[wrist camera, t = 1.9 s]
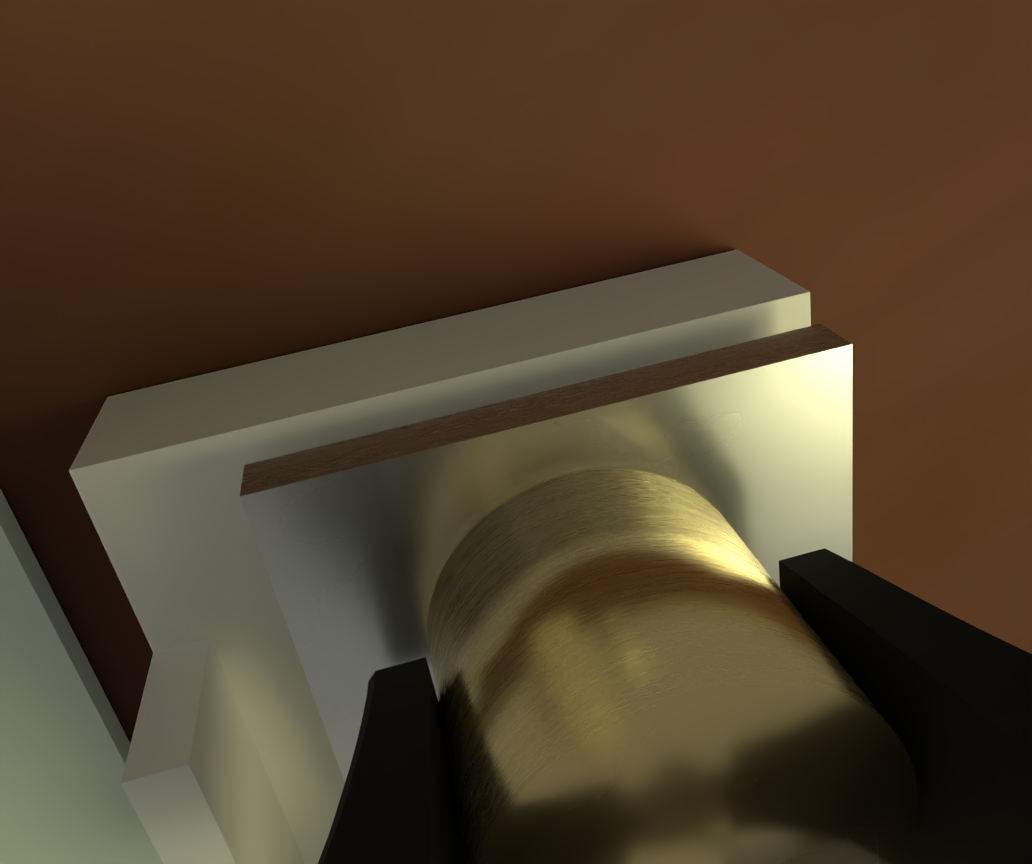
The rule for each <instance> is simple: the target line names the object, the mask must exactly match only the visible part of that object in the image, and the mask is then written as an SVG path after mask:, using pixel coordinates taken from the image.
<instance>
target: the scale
mask: <svg viewBox="0 0 1032 864" xmlns="http://www.w3.org/2000/svg"><path fill="white" fill-rule="evenodd" d="M808 326H811V315H810V292H809V291H808V290H806V289H804V288H802V287H801V286H799V285H797V284H796V283H794V282H792V281H790V280H789V279H787V278H785V277H784V276H782V275H780V274H778V273H777V272H775V271H773V270H772V269H770V268H768V267H766V266H765V265H763V264H761V263H760V262H758V261H756V260H754V259H753V258H751V257H749V256H747V255H746V254H744V253H742V252H741V251H739V250H733V251H728V252H724V253H720V254H715V255H711V256H707V257H703V258H698V259H694V260H690V261H686V262H681V263H677V264H673V265H668V266H664V267H660V268H656V269H651V270H647V271H643V272H639V273H634V274H630V275H626V276H621V277H617V278H613V279H609V280H604V281H600V282H596V283H592V284H587V285H583V286H579V287H574V288H570V289H566V290H562V291H557V292H553V293H549V294H545V295H540V296H536V297H532V298H527V299H523V300H519V301H515V302H510V303H506V304H502V305H498V306H493V307H489V308H485V309H480V310H476V311H472V312H468V313H463V314H459V315H455V316H451V317H446V318H442V319H438V320H433V321H429V322H425V323H421V324H416V325H412V326H408V327H404V328H399V329H395V330H391V331H386V332H382V333H378V334H374V335H369V336H365V337H361V338H357V339H352V340H348V341H344V342H340V343H335V344H331V345H327V346H322V347H318V348H314V349H310V350H305V351H301V352H297V353H293V354H288V355H284V356H280V357H275V358H271V359H267V360H263V361H258V362H254V363H250V364H246V365H241V366H237V367H233V368H228V369H224V370H220V371H216V372H211V373H207V374H203V375H199V376H194V377H190V378H186V379H181V380H177V381H173V382H169V383H164V384H160V385H156V386H152V387H147V388H143V389H139V390H134V391H130V392H126V393H122V394H117V395H113V396H109V397H107V399H106V401H105V403H104V404H103V406H102V408H101V410H100V412H99V414H98V416H97V418H96V420H95V422H94V424H93V425H92V427H91V429H90V431H89V433H88V435H87V437H86V439H85V441H84V443H83V444H82V446H81V448H80V450H79V452H78V454H77V456H76V458H75V460H74V462H73V464H72V465H71V467H70V469H69V472H70V475H71V477H72V479H73V481H74V483H75V485H76V488H77V490H78V492H79V494H80V496H81V498H82V500H83V503H84V505H85V507H86V509H87V511H88V513H89V516H90V518H91V520H92V522H93V524H94V526H95V528H96V531H97V533H98V535H99V537H100V539H101V541H102V544H103V546H104V548H105V550H106V552H107V554H108V557H109V559H110V561H111V563H112V565H113V567H114V569H115V572H116V574H117V576H118V578H119V580H120V582H121V585H122V587H123V589H124V591H125V593H126V595H127V597H128V600H129V602H130V604H131V606H132V608H133V610H134V613H135V615H136V617H137V619H138V621H139V623H140V625H141V628H142V630H143V632H144V634H145V636H146V638H147V641H148V643H149V645H150V647H151V649H152V651H153V655H152V659H151V663H150V667H149V671H148V675H147V679H146V683H145V687H144V691H143V695H142V700H141V704H140V708H139V712H138V716H137V720H136V724H135V728H134V732H133V736H132V740H131V744H130V748H129V752H128V756H127V760H126V764H125V768H124V772H123V776H122V780H121V785H122V787H123V789H124V791H125V793H126V794H127V796H128V798H129V800H130V802H131V804H132V806H133V808H134V809H135V811H136V813H137V815H138V817H139V819H140V821H141V823H142V825H143V826H144V828H145V830H146V832H147V834H148V836H149V838H150V840H151V841H152V843H153V845H154V847H155V849H156V851H157V853H158V855H159V856H160V858H161V860H162V862H163V864H318V862H319V859H320V857H321V854H322V851H323V849H324V846H325V843H326V841H327V838H328V835H329V832H330V829H331V826H332V823H333V820H334V817H335V814H336V811H337V807H338V804H339V801H340V798H341V794H342V791H343V788H344V785H345V781H344V779H343V776H342V773H341V770H340V768H339V765H338V762H337V760H336V757H335V754H334V751H333V749H332V746H331V743H330V741H329V738H328V735H327V732H326V730H325V727H324V724H323V722H322V719H321V716H320V713H319V711H318V708H317V705H316V703H315V700H314V697H313V694H312V692H311V689H310V686H309V684H308V681H307V678H306V675H305V673H304V670H303V667H302V665H301V662H300V659H299V656H298V654H297V651H296V648H295V646H294V643H293V640H292V637H291V635H290V632H289V629H288V627H287V624H286V621H285V618H284V616H283V613H282V610H281V608H280V605H279V602H278V599H277V597H276V594H275V591H274V589H273V586H272V583H271V580H270V578H269V575H268V572H267V570H266V567H265V564H264V561H263V559H262V556H261V553H260V551H259V548H258V545H257V542H256V540H255V537H254V534H253V532H252V529H251V526H250V523H249V521H248V518H247V515H246V513H245V510H244V507H243V504H242V502H241V499H240V491H241V484H242V477H243V471H244V465H246V464H250V463H254V462H258V461H262V460H266V459H271V458H275V457H279V456H283V455H287V454H291V453H295V452H299V451H303V450H307V449H311V448H315V447H319V446H323V445H328V444H332V443H336V442H340V441H344V440H348V439H352V438H356V437H360V436H364V435H368V434H372V433H376V432H381V431H385V430H389V429H393V428H397V427H401V426H405V425H409V424H413V423H417V422H421V421H425V420H429V419H433V418H438V417H442V416H446V415H450V414H454V413H458V412H462V411H466V410H470V409H474V408H478V407H482V406H486V405H491V404H495V403H499V402H503V401H507V400H511V399H515V398H519V397H523V396H527V395H531V394H535V393H539V392H543V391H548V390H552V389H556V388H560V387H564V386H568V385H572V384H576V383H580V382H584V381H588V380H592V379H596V378H600V377H605V376H609V375H613V374H617V373H621V372H625V371H629V370H633V369H637V368H641V367H645V366H649V365H653V364H658V363H662V362H666V361H670V360H674V359H678V358H682V357H686V356H690V355H694V354H698V353H702V352H706V351H710V350H715V349H719V348H723V347H727V346H731V345H735V344H739V343H743V342H747V341H751V340H755V339H759V338H763V337H768V336H772V335H776V334H780V333H784V332H788V331H792V330H796V329H800V328H804V327H808Z"/></svg>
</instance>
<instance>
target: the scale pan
mask: <svg viewBox="0 0 1032 864" xmlns="http://www.w3.org/2000/svg"><path fill="white" fill-rule="evenodd" d="M599 469H632V470H639V471H644V472H650V473H655V474H658V475H661V476H664V477H667V478H670V479H673V480H675V481H677V482H680V483H682V484H684V485H686V486H688V487H690V488H691V489H693V490H694V491H696V492H697V493H699V494H700V495H702V496H703V497H704V498H706V499H707V500H708V501H709V502H710V503H711V504H712V505H713V506H714V507H715V508H716V509H717V510H718V511H719V512H720V513H721V515H722V516H723V517H724V518H725V520H726V521H727V522H728V523H729V525H730V526H731V527H732V528H733V530H734V531H735V532H736V533H737V535H738V536H739V537H740V538H741V540H742V541H743V542H744V543H745V545H746V546H747V547H748V548H749V550H750V551H751V552H752V554H753V555H754V556H755V557H756V559H757V560H758V561H759V562H760V564H761V565H762V566H763V567H764V569H765V570H766V571H767V572H768V574H769V575H770V576H771V577H772V579H773V580H774V581H775V582H776V584H777V585H778V586H779V587H780V579H779V561H780V560H783V559H787V558H791V557H794V556H798V555H802V554H805V553H809V552H813V551H816V550H820V549H824V548H825V549H827V550H829V551H831V552H833V553H835V554H837V555H839V556H841V557H843V558H845V559H847V560H849V561H851V562H852V343H850V342H848V341H847V340H845V339H844V338H842V337H840V336H839V335H837V334H836V333H834V332H833V331H831V330H829V329H828V328H826V327H825V326H823V325H822V324H816V325H812V326H808V327H804V328H800V329H796V330H792V331H788V332H784V333H780V334H776V335H772V336H768V337H763V338H759V339H755V340H751V341H747V342H743V343H739V344H735V345H731V346H727V347H723V348H719V349H715V350H710V351H706V352H702V353H698V354H694V355H690V356H686V357H682V358H678V359H674V360H670V361H666V362H662V363H658V364H653V365H649V366H645V367H641V368H637V369H633V370H629V371H625V372H621V373H617V374H613V375H609V376H605V377H600V378H596V379H592V380H588V381H584V382H580V383H576V384H572V385H568V386H564V387H560V388H556V389H552V390H548V391H543V392H539V393H535V394H531V395H527V396H523V397H519V398H515V399H511V400H507V401H503V402H499V403H495V404H491V405H486V406H482V407H478V408H474V409H470V410H466V411H462V412H458V413H454V414H450V415H446V416H442V417H438V418H433V419H429V420H425V421H421V422H417V423H413V424H409V425H405V426H401V427H397V428H393V429H389V430H385V431H381V432H376V433H372V434H368V435H364V436H360V437H356V438H352V439H348V440H344V441H340V442H336V443H332V444H328V445H323V446H319V447H315V448H311V449H307V450H303V451H299V452H295V453H291V454H287V455H283V456H279V457H275V458H271V459H266V460H262V461H258V462H254V463H250V464H246V465H244V471H243V477H242V484H241V491H240V499H241V502H242V504H243V507H244V510H245V513H246V515H247V518H248V521H249V523H250V526H251V529H252V532H253V534H254V537H255V540H256V542H257V545H258V548H259V551H260V553H261V556H262V559H263V561H264V564H265V567H266V570H267V572H268V575H269V578H270V580H271V583H272V586H273V589H274V591H275V594H276V597H277V599H278V602H279V605H280V608H281V610H282V613H283V616H284V618H285V621H286V624H287V627H288V629H289V632H290V635H291V637H292V640H293V643H294V646H295V648H296V651H297V654H298V656H299V659H300V662H301V665H302V667H303V670H304V673H305V675H306V678H307V681H308V684H309V686H310V689H311V692H312V694H313V697H314V700H315V703H316V705H317V708H318V711H319V713H320V716H321V719H322V722H323V724H324V727H325V730H326V732H327V735H328V738H329V741H330V743H331V746H332V749H333V751H334V754H335V757H336V760H337V762H338V765H339V768H340V770H341V773H342V776H343V779H344V781H346V778H347V775H348V772H349V769H350V765H351V761H352V757H353V754H354V750H355V746H356V742H357V738H358V734H359V730H360V726H361V721H362V717H363V712H364V707H365V702H366V696H367V689H368V682H369V680H370V678H371V677H372V675H373V674H374V673H375V671H377V670H380V669H384V668H388V667H391V666H395V665H399V664H402V663H406V662H410V661H413V660H417V659H421V658H424V657H426V659H427V663H428V666H429V670H430V673H431V677H432V681H433V684H434V688H435V691H436V685H435V680H434V674H433V668H432V663H431V657H430V651H429V646H428V638H427V620H428V612H429V605H430V601H431V598H432V594H433V591H434V587H435V585H436V582H437V580H438V578H439V576H440V574H441V571H442V569H443V567H444V565H445V564H446V562H447V561H448V559H449V557H450V556H451V554H452V553H453V551H454V549H455V548H456V547H457V546H458V545H459V543H460V542H461V541H462V540H463V538H464V537H465V536H466V535H467V534H468V532H469V531H470V530H472V529H473V528H474V527H475V526H476V525H477V524H478V523H479V522H480V521H481V520H482V519H483V518H484V517H485V516H487V515H488V514H489V513H491V512H492V511H493V510H495V509H496V508H497V507H499V506H500V505H501V504H503V503H504V502H506V501H507V500H509V499H511V498H513V497H514V496H516V495H518V494H519V493H521V492H523V491H525V490H527V489H529V488H532V487H534V486H536V485H538V484H541V483H543V482H545V481H548V480H551V479H555V478H558V477H561V476H564V475H568V474H573V473H578V472H583V471H588V470H599ZM436 695H437V691H436ZM437 698H438V697H437Z"/></svg>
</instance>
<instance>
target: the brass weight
mask: <svg viewBox="0 0 1032 864" xmlns="http://www.w3.org/2000/svg"><path fill="white" fill-rule="evenodd" d="M427 638H428V646H429V651H430V657H431V663H432V668H433V674H434V680H435V685H436V691H437V697H438V702H439V707H440V713H441V718H442V724H443V730H444V735H445V741H446V746H447V752H448V758H449V763H450V770H451V776H452V781H453V787H454V792H455V798H456V804H457V809H458V815H459V821H460V826H461V832H462V838H463V843H464V849H465V854H466V860H467V864H899V863H900V861H901V858H902V856H903V854H904V852H905V849H906V847H907V845H908V843H909V839H910V836H911V833H912V829H913V826H914V822H915V815H916V807H917V783H916V778H915V773H914V769H913V765H912V762H911V759H910V757H909V755H908V753H907V751H906V749H905V746H904V744H903V743H902V742H901V740H900V739H899V738H898V736H897V735H896V734H895V732H894V731H893V729H892V728H891V727H890V726H889V724H888V723H887V722H886V721H885V719H884V718H883V717H882V716H881V714H880V713H879V712H878V711H877V709H876V708H875V707H874V706H873V704H872V703H871V702H870V700H869V699H868V698H867V697H866V695H865V694H864V693H863V692H862V690H861V689H860V688H859V687H858V685H857V684H856V683H855V682H854V680H853V679H852V678H851V677H850V675H849V674H848V673H847V672H846V670H845V669H844V668H843V667H842V665H841V664H840V663H839V662H838V660H837V659H836V658H835V657H834V655H833V654H832V653H831V651H830V650H829V649H828V648H827V646H826V645H825V644H824V643H823V641H822V640H821V639H820V638H819V636H818V635H817V634H816V633H815V631H814V630H813V629H812V628H811V626H810V625H809V624H808V623H807V621H806V620H805V619H804V618H803V616H802V615H801V614H800V613H799V611H798V610H797V609H796V608H795V606H794V605H793V604H792V602H791V601H790V600H789V599H788V597H787V596H786V595H785V594H784V592H783V591H782V590H781V589H780V587H779V586H778V585H777V584H776V582H775V581H774V580H773V579H772V577H771V576H770V575H769V574H768V572H767V571H766V570H765V569H764V567H763V566H762V565H761V564H760V562H759V561H758V560H757V559H756V557H755V556H754V555H753V554H752V552H751V551H750V550H749V548H748V547H747V546H746V545H745V543H744V542H743V541H742V540H741V538H740V537H739V536H738V535H737V533H736V532H735V531H734V530H733V528H732V527H731V526H730V525H729V523H728V522H727V521H726V520H725V518H724V517H723V516H722V515H721V513H720V512H719V511H718V510H717V509H716V508H715V507H714V506H713V505H712V504H711V503H710V502H709V501H708V500H707V499H706V498H704V497H703V496H702V495H700V494H699V493H697V492H696V491H694V490H693V489H691V488H690V487H688V486H686V485H684V484H682V483H680V482H677V481H675V480H673V479H670V478H667V477H664V476H661V475H658V474H655V473H650V472H644V471H639V470H632V469H599V470H588V471H583V472H578V473H573V474H568V475H564V476H561V477H558V478H555V479H551V480H548V481H545V482H543V483H541V484H538V485H536V486H534V487H532V488H529V489H527V490H525V491H523V492H521V493H519V494H518V495H516V496H514V497H513V498H511V499H509V500H507V501H506V502H504V503H503V504H501V505H500V506H499V507H497V508H496V509H495V510H493V511H492V512H491V513H489V514H488V515H487V516H485V517H484V518H483V519H482V520H481V521H480V522H479V523H478V524H477V525H476V526H475V527H474V528H473V529H472V530H470V531H469V532H468V534H467V535H466V536H465V537H464V538H463V540H462V541H461V542H460V543H459V545H458V546H457V547H456V548H455V549H454V551H453V553H452V554H451V556H450V557H449V559H448V561H447V562H446V564H445V565H444V567H443V569H442V571H441V574H440V576H439V578H438V580H437V582H436V585H435V587H434V591H433V594H432V598H431V601H430V605H429V612H428V620H427Z"/></svg>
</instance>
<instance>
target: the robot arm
mask: <svg viewBox="0 0 1032 864" xmlns="http://www.w3.org/2000/svg"><path fill="white" fill-rule="evenodd" d="M779 579H780V589H781V590H782V591H783V592H784V594H785V595H786V596H787V597H788V599H789V600H790V601H791V602H792V604H793V605H794V606H795V608H796V609H797V610H798V611H799V613H800V614H801V615H802V616H803V618H804V619H805V620H806V621H807V623H808V624H809V625H810V626H811V628H812V629H813V630H814V631H815V633H816V634H817V635H818V636H819V638H820V639H821V640H822V641H823V643H824V644H825V645H826V646H827V648H828V649H829V650H830V651H831V653H832V654H833V655H834V657H835V658H836V659H837V660H838V662H839V663H840V664H841V665H842V667H843V668H844V669H845V670H846V672H847V673H848V674H849V675H850V677H851V678H852V679H853V680H854V682H855V683H856V684H857V685H858V687H859V688H860V689H861V690H862V692H863V693H864V694H865V695H866V697H867V698H868V699H869V700H870V702H871V703H872V704H873V706H874V707H875V708H876V709H877V711H878V712H879V713H880V714H881V716H882V717H883V718H884V719H885V721H886V722H887V723H888V724H889V726H890V727H891V728H892V729H893V731H894V732H895V734H896V735H897V736H898V738H899V739H900V740H901V742H902V743H903V744H904V746H905V749H906V751H907V753H908V755H909V757H910V759H911V762H912V765H913V769H914V773H915V778H916V783H917V807H916V815H915V822H914V826H913V829H912V833H911V836H910V839H909V843H908V845H907V847H906V849H905V852H904V854H903V856H902V858H901V861H900V863H899V864H1032V654H1030V653H1028V652H1026V651H1024V650H1022V649H1019V648H1017V647H1015V646H1013V645H1011V644H1009V643H1007V642H1005V641H1003V640H1001V639H999V638H996V637H994V636H992V635H990V634H988V633H986V632H984V631H982V630H980V629H978V628H976V627H974V626H972V625H970V624H968V623H966V622H964V621H962V620H960V619H958V618H957V617H955V616H953V615H951V614H949V613H947V612H945V611H943V610H941V609H939V608H937V607H935V606H933V605H931V604H929V603H928V602H926V601H924V600H922V599H920V598H918V597H916V596H914V595H913V594H911V593H909V592H907V591H905V590H903V589H901V588H899V587H898V586H896V585H894V584H892V583H890V582H888V581H886V580H884V579H883V578H881V577H879V576H877V575H875V574H873V573H871V572H870V571H868V570H866V569H864V568H862V567H860V566H858V565H857V564H855V563H853V562H851V561H849V560H847V559H845V558H843V557H841V556H839V555H837V554H835V553H833V552H831V551H829V550H827V549H825V548H824V549H820V550H816V551H813V552H809V553H805V554H802V555H798V556H794V557H791V558H787V559H783V560H780V561H779ZM318 864H467V860H466V854H465V849H464V843H463V838H462V832H461V826H460V821H459V815H458V809H457V804H456V798H455V792H454V787H453V781H452V776H451V770H450V763H449V758H448V752H447V746H446V741H445V735H444V730H443V724H442V718H441V713H440V707H439V702H438V698H437V695H436V691H435V688H434V684H433V681H432V677H431V673H430V670H429V666H428V663H427V659H426V657H424V658H421V659H417V660H413V661H410V662H406V663H402V664H399V665H395V666H391V667H388V668H384V669H380V670H377V671H375V673H374V674H373V675H372V677H371V678H370V680H369V682H368V689H367V696H366V702H365V707H364V712H363V717H362V721H361V726H360V730H359V734H358V738H357V742H356V746H355V750H354V754H353V757H352V761H351V765H350V769H349V772H348V775H347V778H346V781H345V785H344V788H343V791H342V794H341V798H340V801H339V804H338V807H337V811H336V814H335V817H334V820H333V823H332V826H331V829H330V832H329V835H328V838H327V841H326V843H325V846H324V849H323V851H322V854H321V857H320V859H319V862H318Z"/></svg>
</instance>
